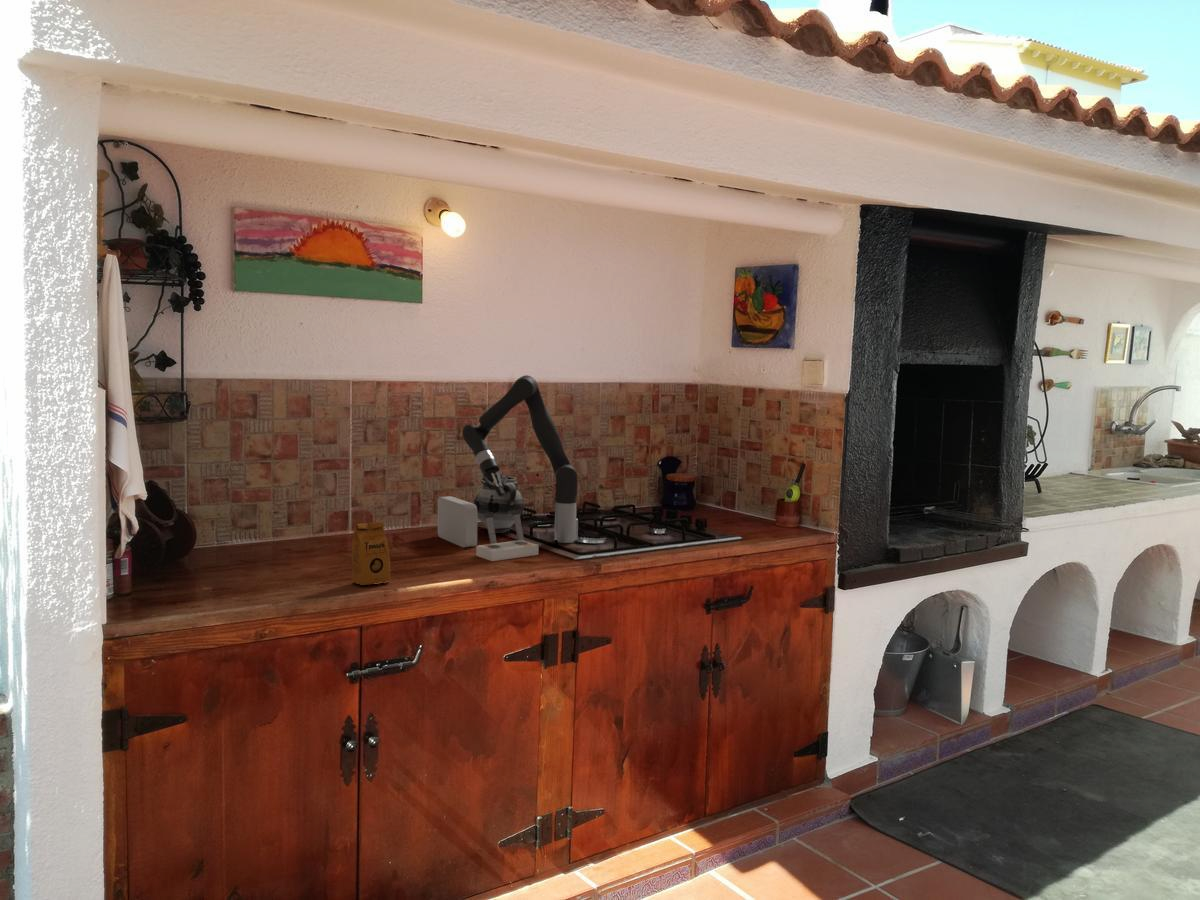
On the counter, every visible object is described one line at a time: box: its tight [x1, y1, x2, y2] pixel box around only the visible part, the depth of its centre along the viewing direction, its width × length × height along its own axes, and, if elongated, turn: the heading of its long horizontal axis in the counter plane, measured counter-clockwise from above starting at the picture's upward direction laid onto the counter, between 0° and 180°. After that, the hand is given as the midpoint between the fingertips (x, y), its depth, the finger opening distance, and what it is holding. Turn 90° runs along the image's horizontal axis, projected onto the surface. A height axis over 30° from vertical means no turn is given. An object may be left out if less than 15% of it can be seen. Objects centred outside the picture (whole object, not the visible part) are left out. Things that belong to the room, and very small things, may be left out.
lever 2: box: [511, 509, 525, 541], centre depth 394 cm, size 3×3×12 cm
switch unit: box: [475, 539, 539, 562], centre depth 389 cm, size 22×12×4 cm, turn 128°
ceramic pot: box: [473, 475, 525, 534], centre depth 438 cm, size 29×23×25 cm
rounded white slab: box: [437, 495, 478, 548], centre depth 413 cm, size 29×8×18 cm, turn 33°
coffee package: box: [351, 520, 391, 586], centre depth 338 cm, size 10×12×22 cm
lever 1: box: [484, 512, 498, 544], centre depth 386 cm, size 3×3×12 cm
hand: (502, 495), depth 403 cm, fingers closed
